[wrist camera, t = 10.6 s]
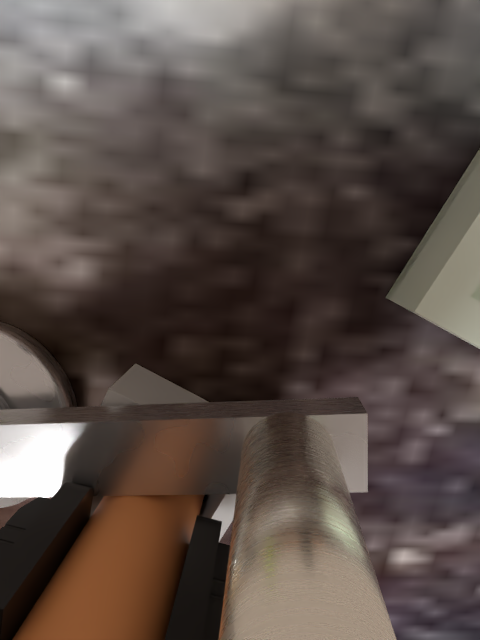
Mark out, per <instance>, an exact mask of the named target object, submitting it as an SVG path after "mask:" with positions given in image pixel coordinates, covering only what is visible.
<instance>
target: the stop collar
mask: <svg viewBox="0 0 480 640" xmlns="http://www.w3.org/2000/svg"><path fill="white" fill-rule="evenodd" d="M204 402H208V401H206V400H204V399H202V398H201V397H199V396H197V395H195V394H193V393H191V392H189V391H187V390H185V389H183V388H181V387H180V386H178V385H176V384H174V383H172V382H170V381H168V380H166V379H164V378H162V377H160V376H159V375H157V374H155V373H153V372H151V371H149V370H147V369H145V368H143V367H141V366H140V365H138V364H136V363H135V364H134V365H133V366H132V367H131V368H130V369H129V370H128V371H127V372H126V373H125V374H124V375H123V376H122V377H121V378H119V379H118V380H117V381H116V382H115V383H114V384H113V385H112V386H111V387H110V388H109V389H108V391H107V394H106V396H105V398H104V400H103V402H102V404H101V406H119V405H147V404H176V403H204ZM103 497H104V496H93V500H92V506H91V512H90V517H91V516H92V514H93V513H94V511H95V509H96V508H97V506H98V505H99V503H100V502H101V500H102V498H103ZM235 502H236V494H208V495H207V497H206V499H205V501H204V502H203V504H202V506H201V510H200V514H199V516H203V517H207V518H211V519H215V520H219V521H222V525H221V532H220V538H219V541H220V539H221V538H222V536H223V535H224V533H225V531H226V530H227V528H228V527H229V525H230V523H231V522H232V520H233V518H234V510H235ZM89 519H90V518H89Z"/></svg>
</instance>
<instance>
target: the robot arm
mask: <svg viewBox="0 0 480 640" xmlns="http://www.w3.org/2000/svg"><path fill="white" fill-rule="evenodd" d="M93 493H94V491H93V488H90V487H86V486H82V485H78V484H74V483H70V482H66V483H64V484H63V485H62V486H61V488H60V489H59V490H58V491H57V492H56V494H55V495H54V496H53V497H52V498H51V499H47V498H43V497H38V498H37V499H35V500H33V501H31V502H30V503H28V504H26V505H24V506H23V507H21V508H20V509H19V510H18V511H17V512H16V513H15V514H14V515H13V516H12V517H11V518H10V520H9V521H8V522H7V523H6V524H5V526H4V527H2V528H1V529H0V640H12V639H13V638H14V636H15V635H16V633H17V631H18V630H19V628H20V627H21V625H22V624H23V622H24V621H25V619H26V617H27V616H28V614H29V613H30V611H31V610H32V608H33V606H34V605H35V603H36V602H37V600H38V599H39V597H40V595H41V594H42V592H43V591H44V589H45V588H46V586H47V585H48V583H49V581H50V580H51V578H52V577H53V575H54V574H55V572H56V570H57V569H58V567H59V566H60V564H61V563H62V561H63V559H64V558H65V556H66V555H67V553H68V552H69V550H70V549H71V547H72V545H73V544H74V542H75V541H76V539H77V538H78V536H79V534H80V533H81V531H82V530H83V528H84V527H85V525H86V523H87V522H88V520H89V518H90V512H91V506H92V500H93ZM221 525H222V521H219V520H215V519H211V518H207V517H203V516H199V515H197V517H196V521H195V525H194V529H193V532H192V536H191V540H190V544H189V548H188V552H187V555H186V559H185V563H184V567H183V571H182V575H181V578H180V582H179V586H178V590H177V594H176V598H175V602H174V605H173V609H172V613H171V617H170V621H169V625H168V628H167V632H166V636H165V640H218V639H219V631H220V623H221V615H222V607H223V599H224V591H225V582H226V574H227V566H228V558H229V550H230V545H226V544H222V543H219V538H220V532H221Z"/></svg>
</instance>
